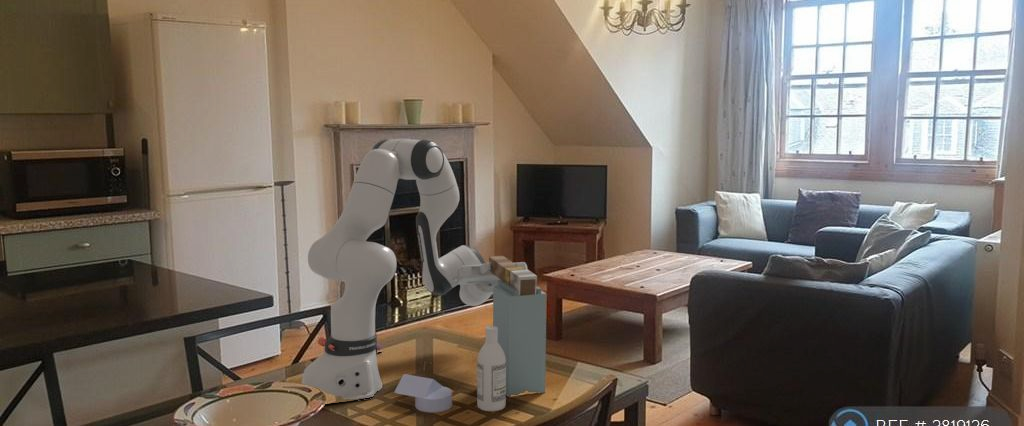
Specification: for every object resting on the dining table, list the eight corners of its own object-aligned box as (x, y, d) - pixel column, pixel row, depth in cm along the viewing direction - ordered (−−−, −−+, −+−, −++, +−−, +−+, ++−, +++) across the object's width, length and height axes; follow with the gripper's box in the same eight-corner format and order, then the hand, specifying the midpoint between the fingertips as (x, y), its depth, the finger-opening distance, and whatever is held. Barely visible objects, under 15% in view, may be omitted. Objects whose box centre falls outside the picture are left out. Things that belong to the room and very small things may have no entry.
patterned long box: (487, 270, 217) (487, 253, 216) (503, 269, 219) (504, 252, 218) (518, 295, 195) (519, 277, 194) (536, 294, 197) (537, 275, 196)
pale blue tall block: (492, 381, 209) (493, 280, 205) (527, 377, 212) (528, 278, 208) (508, 397, 198) (509, 291, 194) (545, 392, 201) (546, 288, 197)
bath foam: (509, 403, 194) (509, 324, 191) (500, 413, 187) (501, 332, 184) (482, 400, 196) (482, 322, 193) (473, 410, 189) (473, 330, 186)
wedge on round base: (394, 405, 192) (440, 415, 186) (393, 379, 191) (440, 387, 186) (413, 393, 200) (458, 402, 195) (413, 368, 199) (458, 376, 194)
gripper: (449, 271, 224) (461, 255, 212) (516, 267, 231) (531, 251, 219) (452, 292, 222) (465, 277, 210) (519, 287, 229) (535, 272, 217)
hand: (499, 264), depth 214 cm, fingers closed on patterned long box, 4 cm apart
